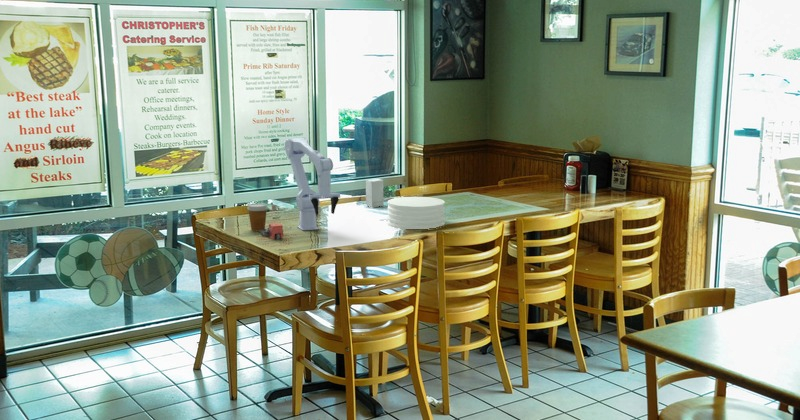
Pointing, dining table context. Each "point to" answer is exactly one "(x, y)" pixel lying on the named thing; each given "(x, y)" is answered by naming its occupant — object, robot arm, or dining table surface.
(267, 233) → the lip
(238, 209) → the dining table surface
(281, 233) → the block
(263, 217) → the disposable coffee cup
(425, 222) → the plate stack
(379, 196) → the skincare box
